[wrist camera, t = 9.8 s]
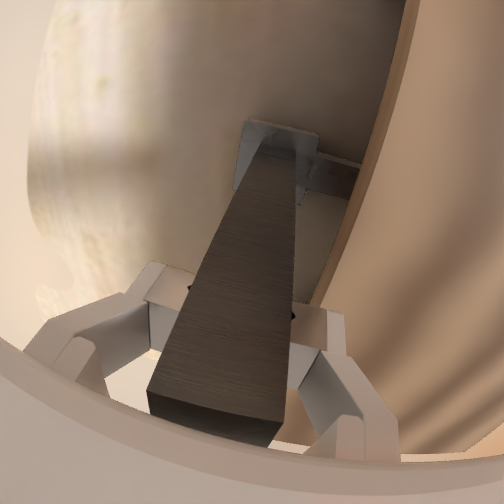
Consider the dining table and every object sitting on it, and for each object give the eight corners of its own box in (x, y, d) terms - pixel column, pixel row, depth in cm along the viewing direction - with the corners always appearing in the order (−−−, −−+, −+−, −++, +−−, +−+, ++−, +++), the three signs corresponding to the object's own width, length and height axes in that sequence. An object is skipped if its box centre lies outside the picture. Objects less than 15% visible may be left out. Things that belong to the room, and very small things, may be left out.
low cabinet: (276, 317, 31) (253, 435, 20) (376, -31, 13) (433, -117, 2) (441, 353, 30) (464, 451, 19) (568, 87, 13) (668, 124, 2)
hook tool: (220, 271, 28) (146, 494, 11) (247, 117, 21) (65, 317, 4) (408, 312, 28) (453, 507, 11) (471, 187, 20) (624, 377, 4)
